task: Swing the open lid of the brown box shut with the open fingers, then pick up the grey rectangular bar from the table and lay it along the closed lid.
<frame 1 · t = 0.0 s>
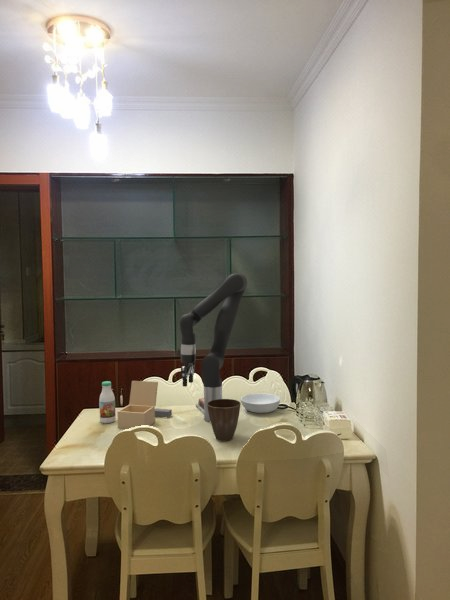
hand: (187, 384, 246), 17 cm above the table, tool pointing down, fingers open, 8 cm apart
serving bowl: (260, 411, 257), on the table
lid: (143, 393, 244), point 14 cm above the table, hinge at 108.0°
box: (136, 424, 237), on the table
packaged product: (208, 410, 261), on the table
grey rectangular bar: (157, 416, 251), on the table
plant pot: (224, 438, 216), on the table
milk bottle: (107, 421, 243), on the table
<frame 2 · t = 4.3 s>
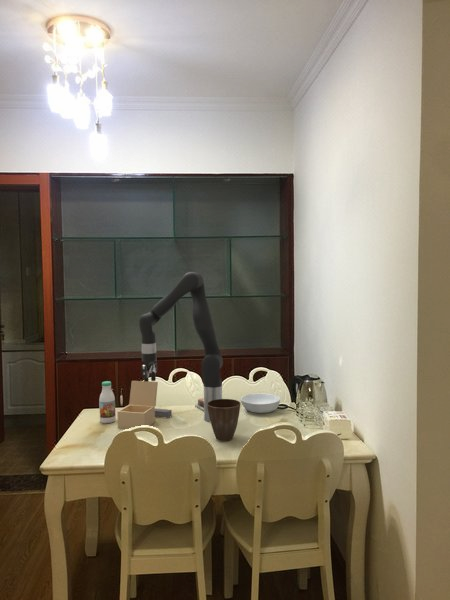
hand: (150, 382, 251), 17 cm above the table, tool pointing down, fingers open, 8 cm apart
lid: (143, 393, 244), point 14 cm above the table, hinge at 106.8°, touching gripper
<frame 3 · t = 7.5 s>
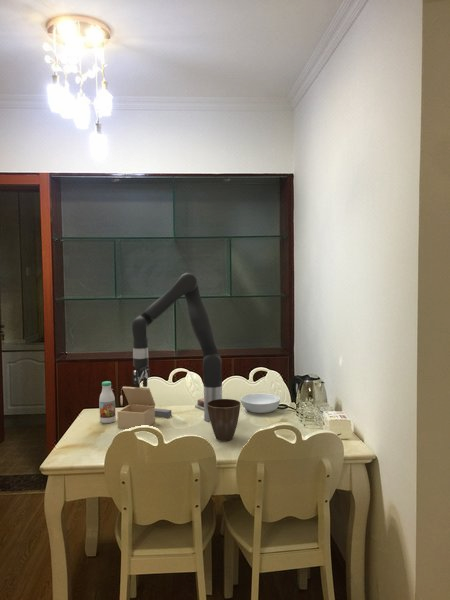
hand: (141, 388, 242), 16 cm above the table, tool pointing down, fingers open, 8 cm apart
lid: (138, 396, 239), point 13 cm above the table, hinge at 56.5°, touching gripper
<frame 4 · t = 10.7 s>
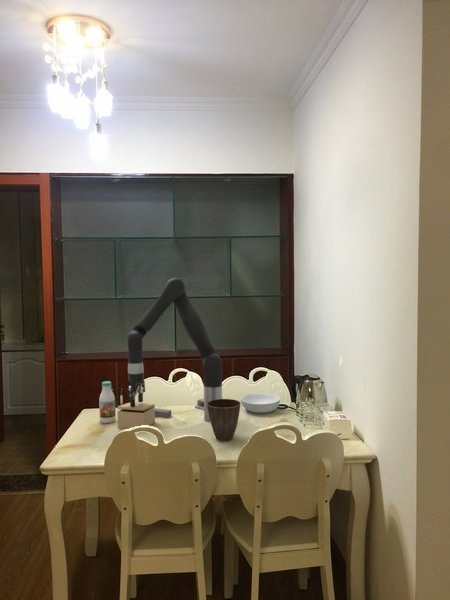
hand: (136, 404, 237), 10 cm above the table, tool pointing down, fingers open, 8 cm apart
lid: (136, 406, 236), point 9 cm above the table, hinge at 5.7°, touching gripper
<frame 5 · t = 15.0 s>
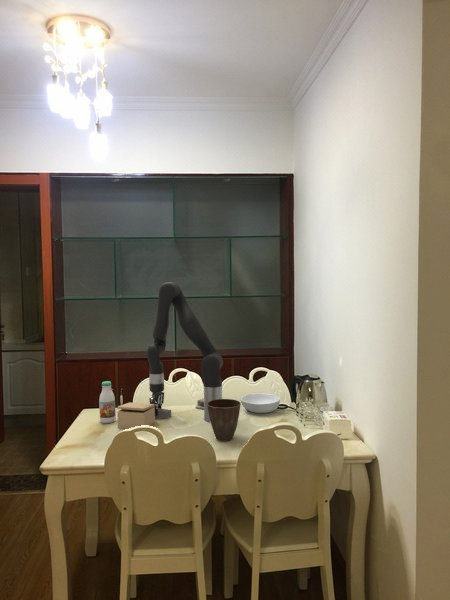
hand: (157, 414, 251), 1 cm above the table, tool pointing down, fingers closed on grey rectangular bar, 4 cm apart
lid: (136, 406, 236), point 9 cm above the table, hinge at 5.6°
grey rectangular bar: (157, 416, 251), on the table, touching gripper
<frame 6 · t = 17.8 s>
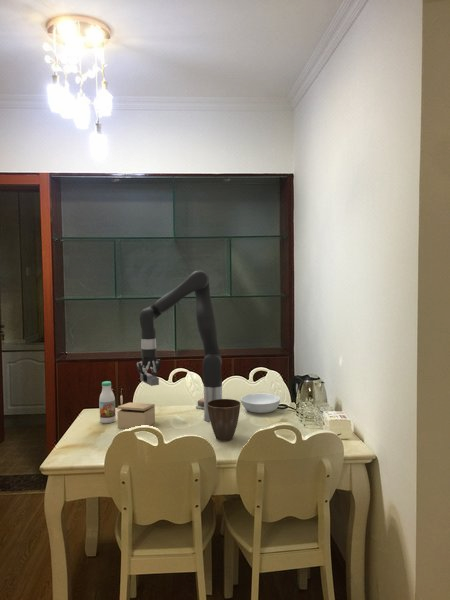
hand: (149, 380, 245), 20 cm above the table, tool pointing down, fingers closed on grey rectangular bar, 4 cm apart
grey rectangular bar: (149, 382, 245), point 19 cm above the table, touching gripper
when the fingers open (12 cm above the table, at t = 20.4 s): grey rectangular bar drops 1 cm, resting on lid.
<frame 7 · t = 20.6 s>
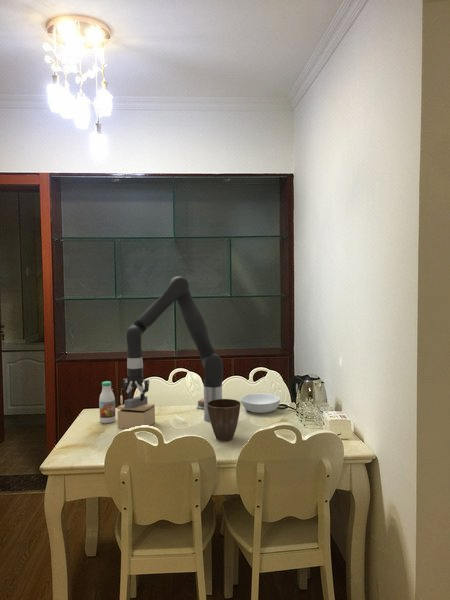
hand: (136, 400, 236), 12 cm above the table, tool pointing down, fingers open, 6 cm apart
lid: (136, 406, 236), point 9 cm above the table, hinge at 5.3°, touching grey rectangular bar
grey rectangular bar: (136, 405, 236), point 10 cm above the table, tilted 5°, touching lid
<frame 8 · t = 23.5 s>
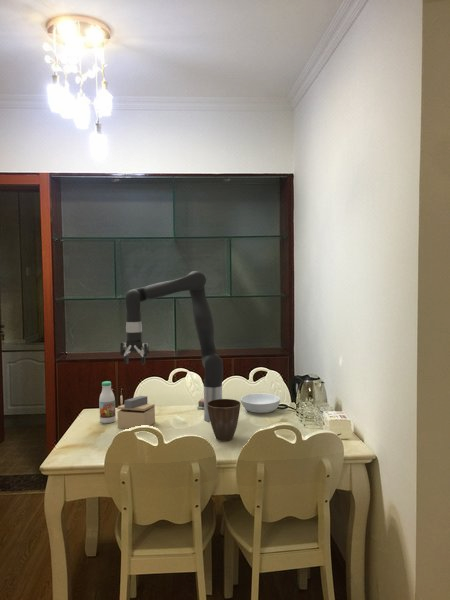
hand: (135, 364, 235), 30 cm above the table, tool pointing down, fingers open, 8 cm apart
at the end: lid at +5° (first picture: +108°); grey rectangular bar inside the target area on the box (0.1 cm from its centre), point 9.7 cm above the box's base; the gripper is holding nothing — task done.
